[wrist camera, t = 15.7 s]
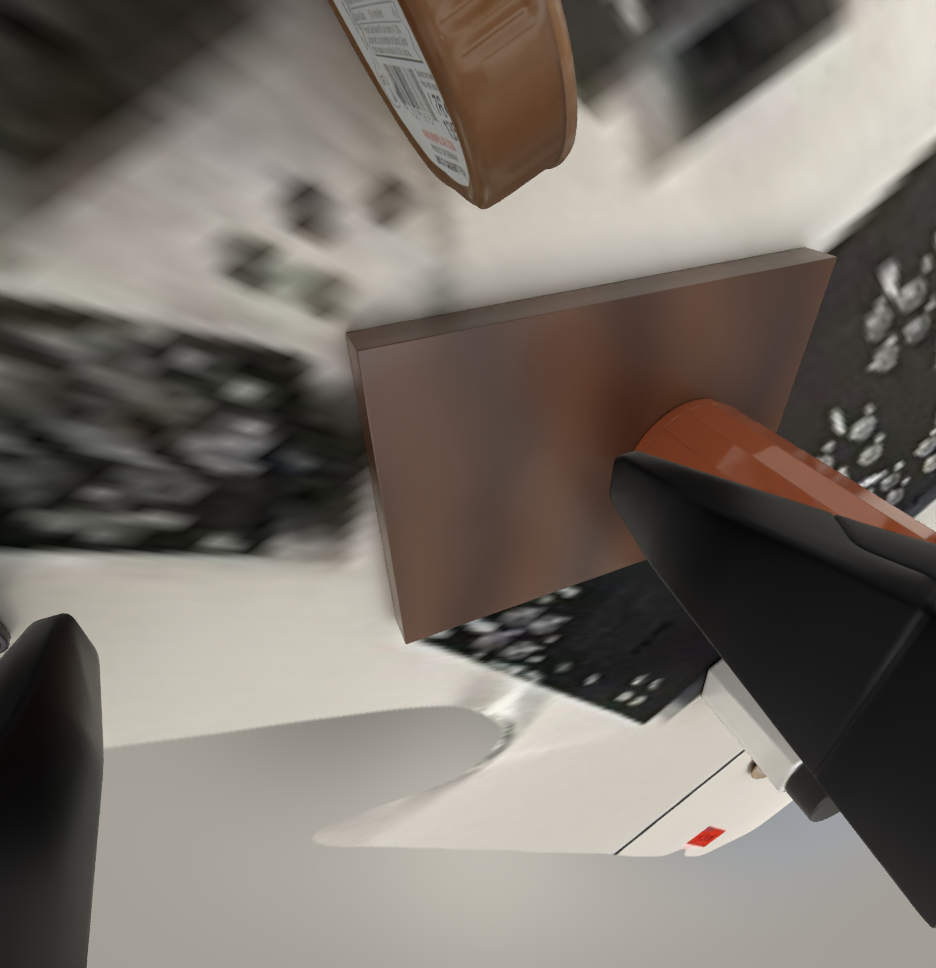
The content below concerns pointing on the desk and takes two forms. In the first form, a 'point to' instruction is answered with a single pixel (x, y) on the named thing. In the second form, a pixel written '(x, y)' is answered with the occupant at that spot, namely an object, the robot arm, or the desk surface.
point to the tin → (472, 85)
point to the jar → (764, 742)
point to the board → (556, 421)
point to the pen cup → (767, 464)
